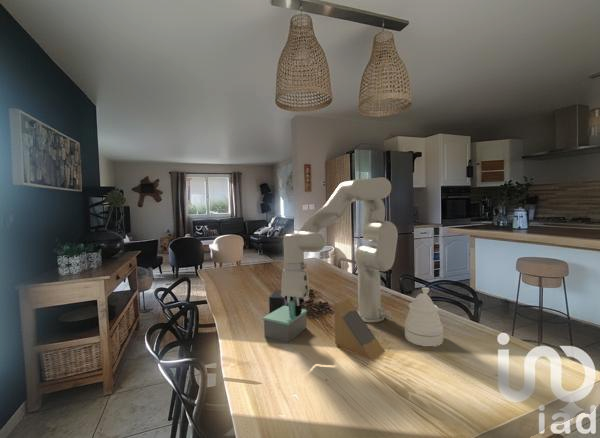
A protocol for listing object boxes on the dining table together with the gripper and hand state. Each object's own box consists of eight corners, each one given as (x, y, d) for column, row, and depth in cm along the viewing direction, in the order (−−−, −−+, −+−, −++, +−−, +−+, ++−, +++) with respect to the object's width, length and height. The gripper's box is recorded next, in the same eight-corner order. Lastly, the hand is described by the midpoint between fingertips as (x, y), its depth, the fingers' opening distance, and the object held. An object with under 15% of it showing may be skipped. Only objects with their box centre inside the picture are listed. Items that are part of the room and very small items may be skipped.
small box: (283, 321, 122) (282, 297, 122) (268, 320, 123) (268, 296, 123) (289, 312, 132) (288, 290, 132) (275, 311, 134) (275, 289, 133)
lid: (307, 314, 114) (306, 295, 113) (288, 328, 101) (287, 306, 101) (283, 309, 119) (283, 291, 119) (263, 322, 107) (262, 301, 107)
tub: (306, 329, 114) (306, 312, 113) (288, 343, 102) (287, 324, 102) (284, 324, 119) (283, 307, 119) (264, 337, 107) (264, 319, 107)
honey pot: (413, 327, 113) (413, 282, 112) (448, 337, 104) (448, 289, 103) (398, 338, 104) (398, 290, 103) (435, 350, 95) (434, 297, 94)
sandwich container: (372, 361, 90) (372, 315, 89) (334, 345, 100) (333, 303, 100) (386, 351, 96) (385, 307, 95) (348, 337, 107) (348, 297, 106)
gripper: (317, 266, 106) (318, 314, 107) (282, 262, 114) (283, 307, 115) (307, 270, 100) (309, 321, 101) (271, 266, 108) (272, 314, 109)
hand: (295, 314), depth 108 cm, fingers closed on lid
